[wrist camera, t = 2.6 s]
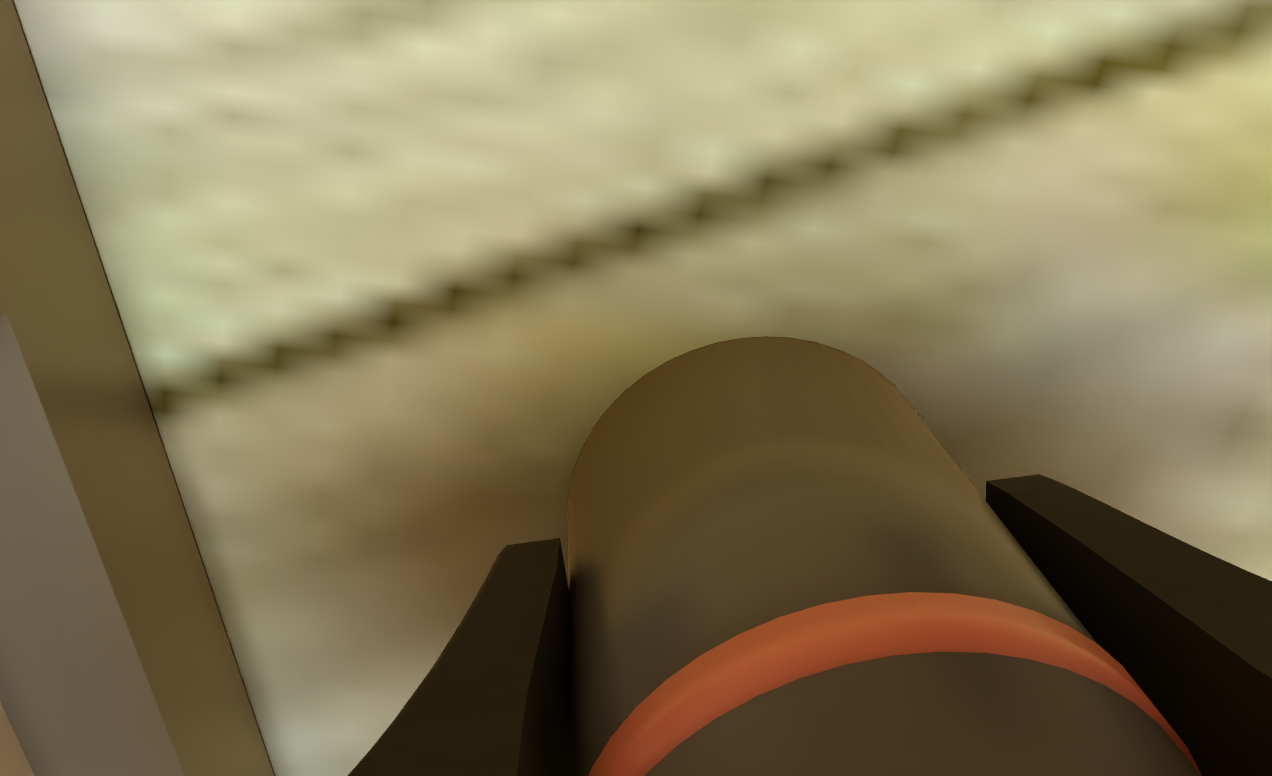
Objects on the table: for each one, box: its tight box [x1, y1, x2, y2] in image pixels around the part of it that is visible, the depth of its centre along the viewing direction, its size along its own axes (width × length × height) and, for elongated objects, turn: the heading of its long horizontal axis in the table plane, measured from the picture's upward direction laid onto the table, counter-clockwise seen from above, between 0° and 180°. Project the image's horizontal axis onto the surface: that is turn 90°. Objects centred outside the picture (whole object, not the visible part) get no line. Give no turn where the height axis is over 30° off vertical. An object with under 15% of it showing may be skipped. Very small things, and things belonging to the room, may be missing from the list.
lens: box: [567, 337, 1202, 776], centre depth 10 cm, size 5×5×7 cm
